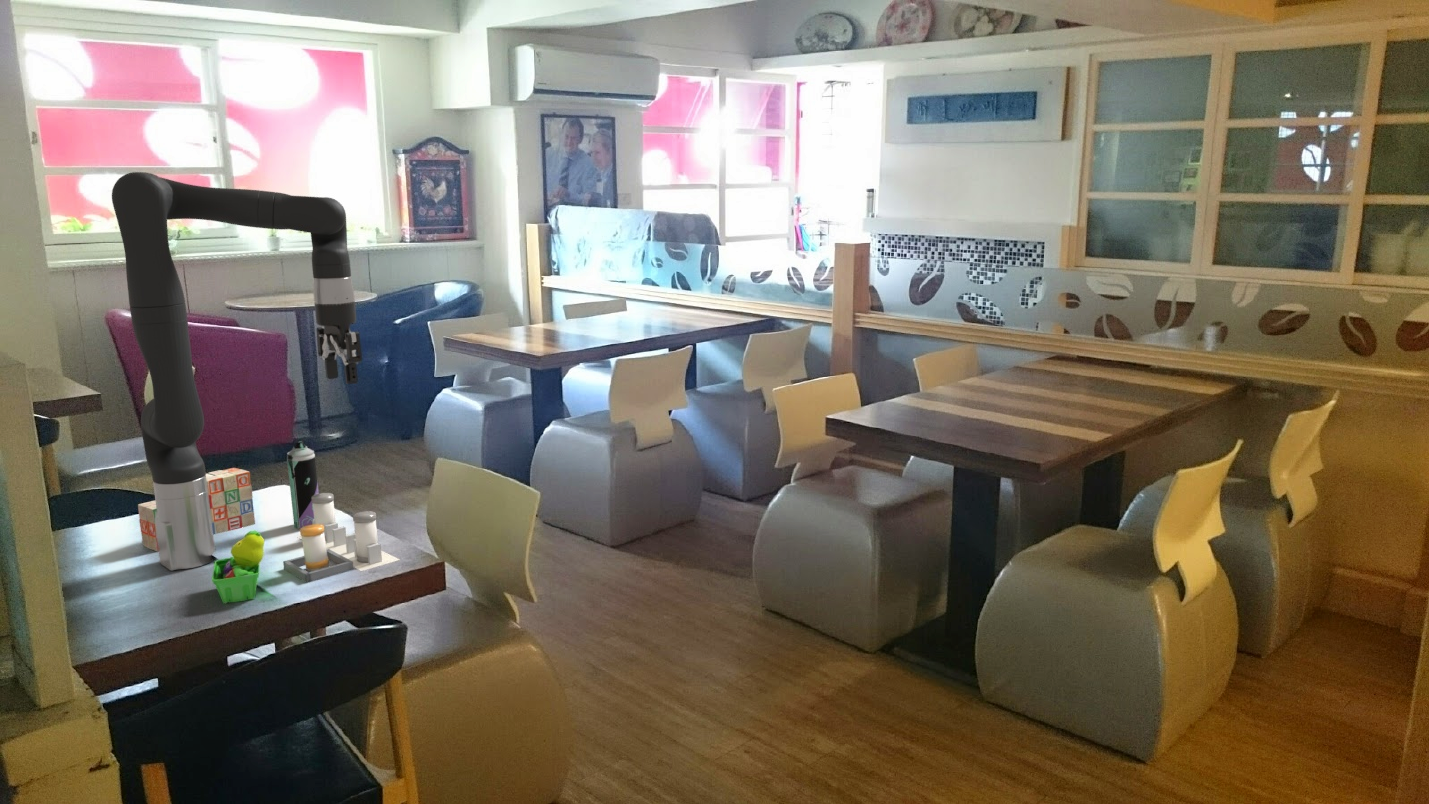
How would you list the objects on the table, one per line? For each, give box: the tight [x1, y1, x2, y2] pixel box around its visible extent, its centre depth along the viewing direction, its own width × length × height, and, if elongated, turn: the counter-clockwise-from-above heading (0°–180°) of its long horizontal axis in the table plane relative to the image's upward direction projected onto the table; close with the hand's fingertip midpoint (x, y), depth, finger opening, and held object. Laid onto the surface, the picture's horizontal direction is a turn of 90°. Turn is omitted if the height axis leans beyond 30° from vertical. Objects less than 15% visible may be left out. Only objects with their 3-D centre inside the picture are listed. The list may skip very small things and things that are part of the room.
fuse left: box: [312, 492, 337, 541], centre depth 210 cm, size 4×4×9 cm
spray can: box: [286, 440, 320, 530], centre depth 217 cm, size 6×6×20 cm
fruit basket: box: [211, 530, 265, 604], centre depth 186 cm, size 11×9×11 cm
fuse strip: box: [297, 519, 401, 572], centre depth 204 cm, size 8×28×5 cm, turn 45°
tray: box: [282, 549, 355, 583], centre depth 194 cm, size 9×10×3 cm
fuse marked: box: [299, 524, 330, 572], centre depth 193 cm, size 4×4×9 cm
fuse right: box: [352, 510, 379, 563], centre depth 197 cm, size 4×4×9 cm
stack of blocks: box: [137, 467, 256, 553], centre depth 217 cm, size 21×6×12 cm, turn 144°
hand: (342, 380), depth 205 cm, fingers open, 8 cm apart
